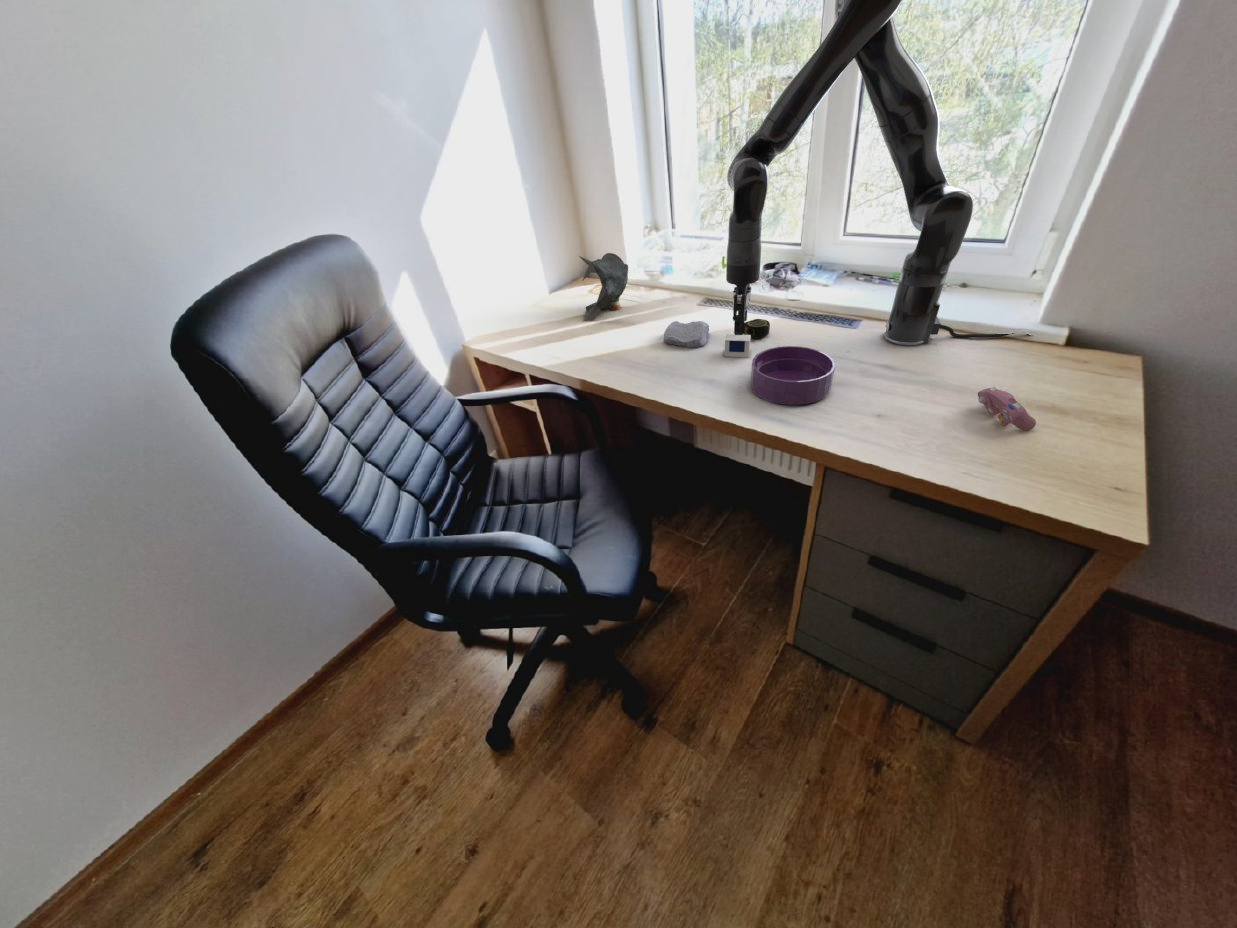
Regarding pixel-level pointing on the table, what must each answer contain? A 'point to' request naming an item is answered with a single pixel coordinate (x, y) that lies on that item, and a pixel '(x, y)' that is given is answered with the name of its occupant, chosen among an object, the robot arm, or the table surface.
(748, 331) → the tape measure
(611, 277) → the dark grey bird-shaped figure
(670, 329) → the stone block
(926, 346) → the table surface
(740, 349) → the white box
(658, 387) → the table surface
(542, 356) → the table surface
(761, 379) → the bowl
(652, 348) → the table surface
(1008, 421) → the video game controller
